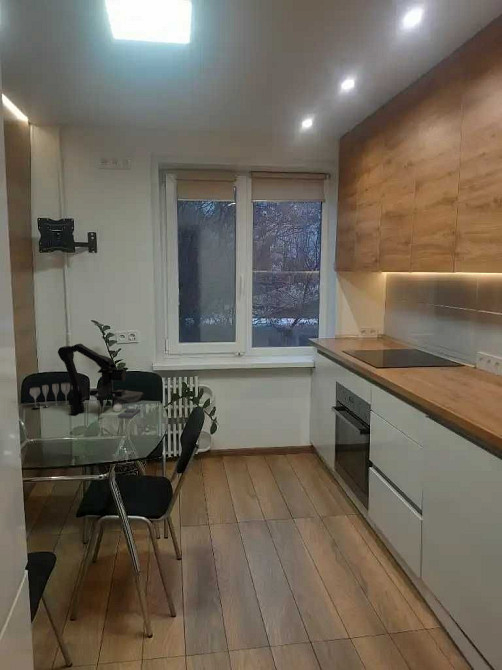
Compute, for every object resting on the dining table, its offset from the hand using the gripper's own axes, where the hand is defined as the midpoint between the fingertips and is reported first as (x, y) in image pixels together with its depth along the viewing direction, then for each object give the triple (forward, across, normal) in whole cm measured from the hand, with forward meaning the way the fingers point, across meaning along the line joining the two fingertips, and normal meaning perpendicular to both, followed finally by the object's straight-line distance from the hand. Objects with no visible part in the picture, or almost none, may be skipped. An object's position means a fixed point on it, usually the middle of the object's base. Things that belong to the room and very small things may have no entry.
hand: (107, 407), depth 278 cm
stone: (+3, +6, +21) cm, 22 cm away
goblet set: (+4, -39, +15) cm, 42 cm away
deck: (+4, +8, 0) cm, 8 cm away
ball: (0, +6, 0) cm, 6 cm away
